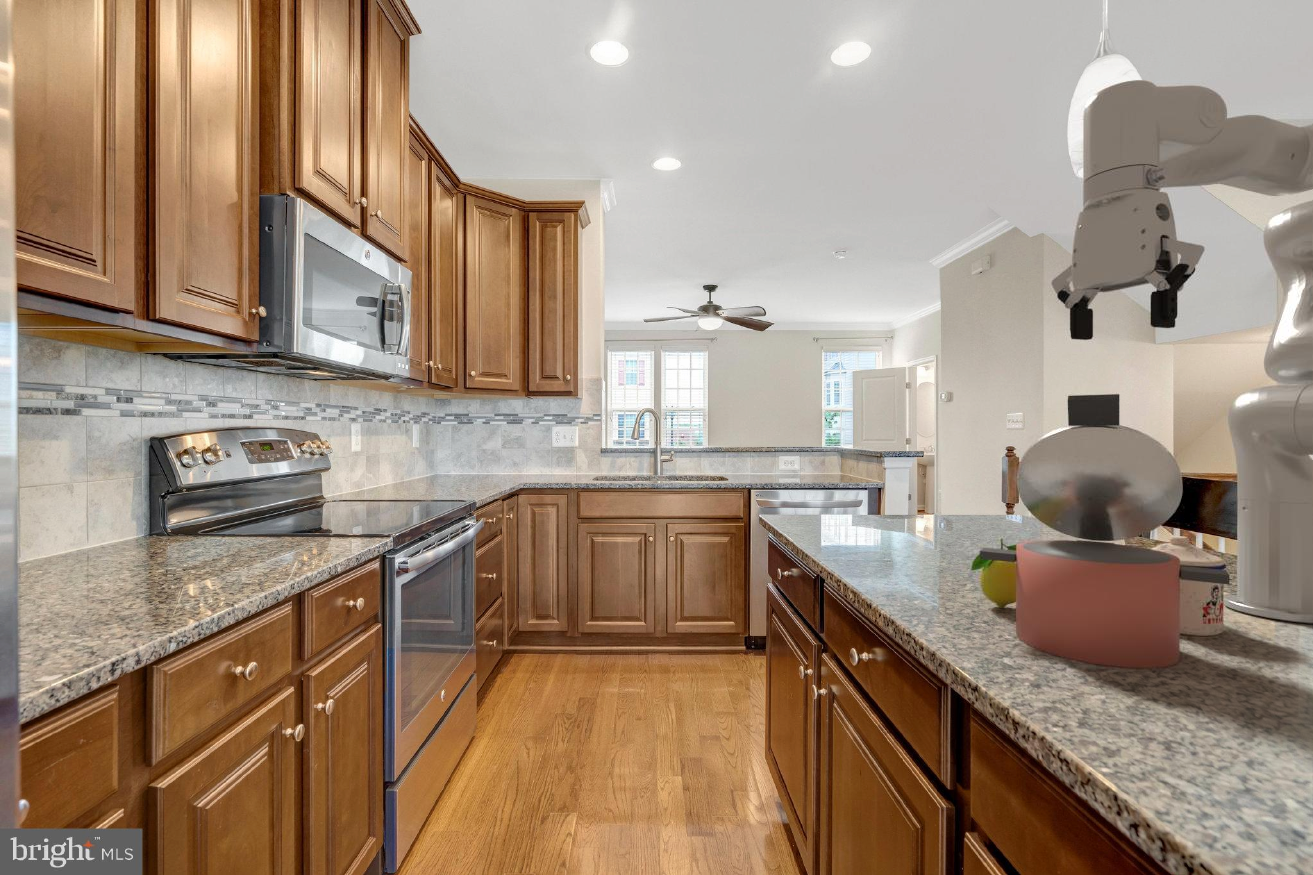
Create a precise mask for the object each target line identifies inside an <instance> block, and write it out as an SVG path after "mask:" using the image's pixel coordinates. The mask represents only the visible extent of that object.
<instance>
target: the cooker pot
mask: <svg viewBox="0 0 1313 875" xmlns="http://www.w3.org/2000/svg"><path fill="white" fill-rule="evenodd" d="M1015 545H1016V550H1008V549H1005V548H1003V549H1001V548H994V547H983V548H981V549H980V550H979V554H980V559H987V560H997V561H1007V562H1015V563H1016V602H1015V605H1016V606H1015V608H1016V609H1015V611H1016V613H1015V615H1016V616H1015V617H1016V618H1015V619H1016V620H1015V625H1016V626H1015V627H1016V628H1015V633H1016V634H1015V635H1016V636H1017V638H1018V639H1019V640H1021V642H1023V643H1025V644H1027V645H1029V646H1031V647H1033V648H1034V649H1037V650H1039V651H1042V652H1045V653H1048V654H1050V655H1051V654H1052V655H1054V656H1057V657H1062V658H1065V659H1069V660H1074V661H1079V662H1082V663H1088V664H1095V665H1101V666H1108V667H1118V668H1127V669H1129V668H1130V669H1131V668H1132V669H1156V668H1164V667H1169V666H1173V665H1176V663H1178V662H1179V661H1180V660H1181V659H1180V650H1181V649H1180V643H1181V642H1180V638H1181V637H1180V579H1181V580H1190V581H1200V582H1210V583H1219V584H1224V585H1230V574H1229V572H1228V571H1227V570H1226V569H1224V570H1219V569H1208V568H1197V567H1187V566H1180V559H1179V558H1178V557H1176V556H1174V555H1172V554H1169V553H1165V552H1161V551H1157V550H1152V549H1151V548H1147V547H1140V546H1134V545H1127V544H1118V543H1115V542H1107V541H1094V540H1083V539H1081V540H1080V539H1078V540H1072V539H1071V540H1070V539H1069V540H1066V539H1065V540H1064V539H1061V540H1060V539H1046V540H1045V539H1042V540H1041V539H1040V540H1029V541H1022V542H1019V543H1017V544H1015Z"/></svg>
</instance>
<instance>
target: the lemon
mask: <svg viewBox="0 0 1313 875" xmlns="http://www.w3.org/2000/svg"><path fill="white" fill-rule="evenodd" d="M1016 545H1017V544H1013V545H1005V544H1004V542H1003V538H1000V549H1004V547H1005V548H1006V550H1016ZM980 569H981V572H980V577H979V578H980V587H981V591H982V592H983V593H982V594H983V595H984V596H985V597H986V598H987V599H988V600H989V601H991V602H993V603H995V604H996V605H997V607H998V608H1000V609H1004V608H1005V607H1007V606H1008V605H1012V604H1014V603H1015V604H1016V562H1007V561H997V560H987V559H980V553H979V554H977V555H976V556H975V558H974V559H973V561H972V564H971V569H970V571H976V570H977V571H978V570H980Z"/></svg>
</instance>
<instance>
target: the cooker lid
mask: <svg viewBox="0 0 1313 875" xmlns="http://www.w3.org/2000/svg"><path fill="white" fill-rule="evenodd" d="M1067 418H1068V420H1067V422H1068V425H1067V426H1061V427H1059V428H1056V429H1054V430H1051V431H1050V432H1048V433H1046V434H1044V435H1042V436H1041V437H1039V438H1038V439H1037V440H1035V441H1034V442H1033V443H1032V444H1031V445H1029V447H1028V448H1027V449H1026V450H1025V452H1024V453H1023V455H1022V456H1021V460H1020V462H1019V464H1018V469H1017V474H1016V486H1017V487H1016V489H1017V493H1018V495H1019V497H1020V500H1021V502H1022V504H1023V505H1024V506H1025V508H1026V509H1027V511H1029V512H1030V513H1031V514H1032V515H1033V517H1035V518H1036V519H1037V520H1038V521H1040V522H1041V523H1042V524H1044V525H1045V526H1046V527H1048V528H1051V529H1052V530H1054V531H1056V532H1059V533H1060V534H1061V533H1062V534H1064V535H1067V536H1069V537H1072V538H1076V539H1081V540H1085V541H1094V542H1112V541H1113V542H1114V541H1124V540H1129V539H1133V538H1137V537H1140V536H1142V535H1146V534H1148V533H1150V532H1152V531H1154V530H1156V529H1158V528H1159V527H1160V526H1162V525H1164V524H1165V523H1166V522H1167V521H1168V520H1169V519H1170V518H1171V517H1173V514H1175V513H1176V511H1177V509H1178V507H1179V506H1180V503H1181V500H1182V498H1183V497H1182V496H1183V493H1184V492H1183V491H1184V490H1183V477H1182V472H1181V469H1180V466H1179V464H1178V462H1177V460H1176V459H1175V457H1174V456H1173V454H1172V452H1170V451H1169V450H1168V449H1167V448H1166V446H1165V445H1163V444H1162V443H1161V442H1159V441H1158V440H1157V439H1155V438H1153V437H1152V436H1150V435H1148V434H1147V433H1144V432H1141V431H1140V430H1138V429H1134V428H1132V427H1129V426H1125V425H1121V424H1120V394H1119V393H1114V394H1113V393H1109V394H1080V395H1079V394H1077V395H1075V394H1073V395H1067Z"/></svg>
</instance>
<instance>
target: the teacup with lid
mask: <svg viewBox="0 0 1313 875" xmlns="http://www.w3.org/2000/svg"><path fill="white" fill-rule="evenodd" d="M1168 540H1169V542H1167V543H1160V544H1158V545H1156V546H1154V547H1152V548H1150V549H1152V550H1157V551H1161V552H1165V553H1169V554H1172V555H1174V556H1176V557H1178V558H1179V559H1180V566H1187V567H1197V568H1208V569H1219V570H1226V568H1227V564H1226V562H1225V560H1223V558H1221V557H1219V556H1217V555H1214V554H1210V553H1208V552H1206V551H1204V550H1203V549H1202V548H1200V547H1197V546H1195V545H1191V544H1190V538H1188V537H1187V536H1183V535H1182V536H1181V535H1171V536H1169V539H1168ZM1224 585H1225V584H1219V583H1210V582H1200V581H1190V580H1181V579H1180V634H1181V635H1188V636H1199V637H1200V636H1201V637H1203V636H1205V637H1209V636H1217V635H1221V634H1222V633H1223V632H1224V604H1223V599H1224V595H1225V593H1224V591H1225V590H1224V588H1225V587H1224Z"/></svg>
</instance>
